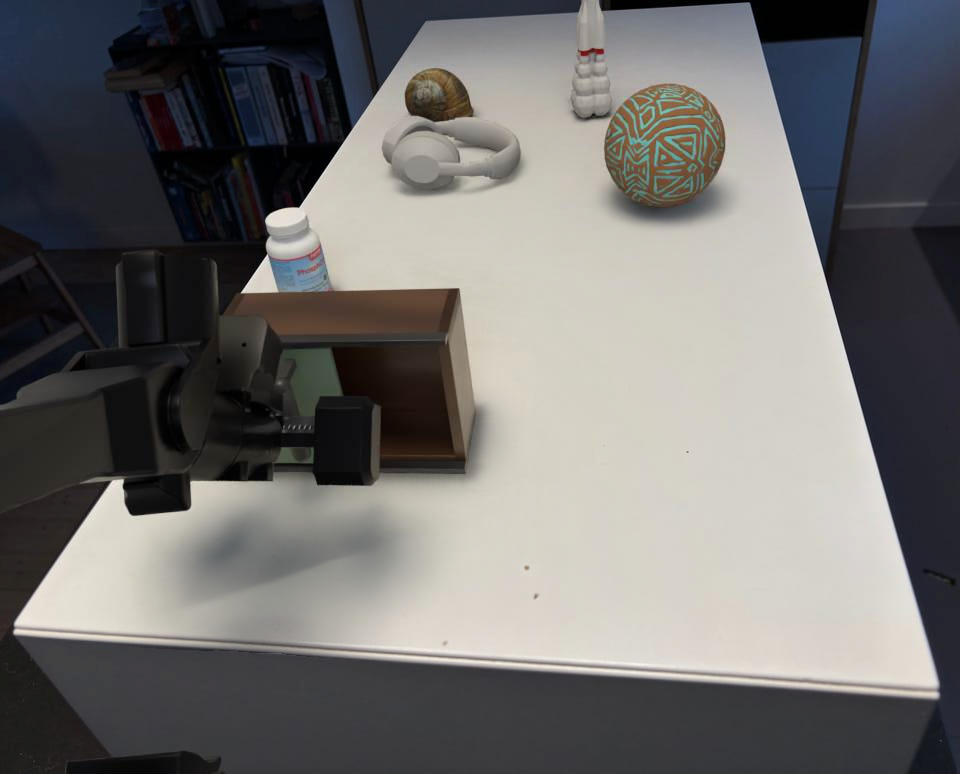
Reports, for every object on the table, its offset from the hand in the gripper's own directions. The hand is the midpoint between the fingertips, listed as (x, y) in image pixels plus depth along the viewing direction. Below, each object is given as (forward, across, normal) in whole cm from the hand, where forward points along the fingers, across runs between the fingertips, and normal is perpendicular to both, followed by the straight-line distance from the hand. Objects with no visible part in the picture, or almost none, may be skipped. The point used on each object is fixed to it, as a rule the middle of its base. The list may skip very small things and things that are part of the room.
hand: (292, 445), depth 66 cm
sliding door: (+6, +1, +2) cm, 7 cm away
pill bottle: (+27, +9, -18) cm, 34 cm away
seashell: (+68, +2, -59) cm, 90 cm away
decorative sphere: (+44, -33, -34) cm, 64 cm away
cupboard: (+11, -3, -1) cm, 11 cm away
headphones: (+52, -3, -43) cm, 68 cm away
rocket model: (+66, -23, -57) cm, 91 cm away
